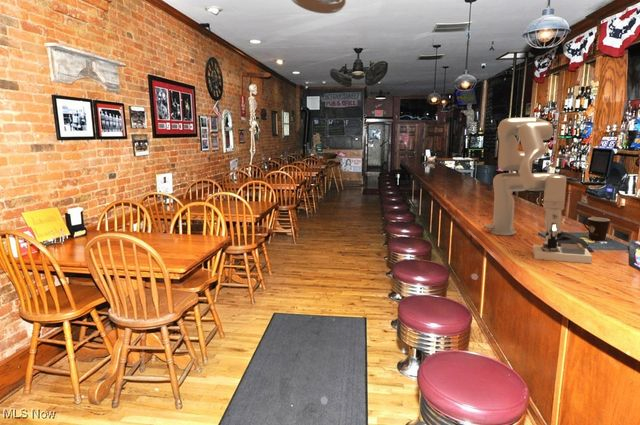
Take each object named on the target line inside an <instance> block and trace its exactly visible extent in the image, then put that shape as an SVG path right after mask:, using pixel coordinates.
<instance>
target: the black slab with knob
mask: <svg viewBox="0 0 640 425" xmlns="http://www.w3.org/2000/svg"><path fill="white" fill-rule="evenodd" d="M557 243H558V247H561V243H562V244H577V243H579V244H581V245H582V246H583V247H584V249H587V250H588V251H589V253H595V251H594V249H592V247H591V246H590V245H589V244H588V243H587V241H586V240H585V239H583V238H581V237H579V236H576V235H574V234H571V233H569V232H565V231H562V230H561V233H558V232H557ZM588 246H590V247H588Z"/></svg>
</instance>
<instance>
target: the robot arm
mask: <svg viewBox="0 0 640 425" xmlns="http://www.w3.org/2000/svg"><path fill="white" fill-rule="evenodd" d="M553 135H554V127H553V124H551V122H549V121H547V120H545V119H542V118H539V117H535V116H528V117H525V116H523V117H522V116H521V117H508V118H507V117H506V118H505V119H502V120H501V121H500V122H499V124H498V127H497V136H498V141H499V146H498V156H497V157H498V158H497V166H498V169H499V170H501V171H506V173H505V172H503V173H498V174H497V175H494V177H493V180H492V183H493V184H492V185H493V193H494V196H493V198H494V200H493V218H492V219H493V220H492V221H493V222H492V223H491V224H485V223H484V224H483V228H484V229H486V230H489V233H490V234H493V235H494V236H495V235H497V236H505V237H507V236H514V235H516V233H517V231H516V230H514V217H515V216H514V215H515V198H514V196H513V195H512V193H511V192H523V191H529V192H530V191H532V192H533V191H534V192H536V191H537V192H538V191H543V204H542V205H543V206H542V208H543V209H545V218H544V219H545V222H544V223H545V224H544V226H545V238H544V239H545V240H546V235H549V238H548V245H547V247H548V248H556V247H557V234H558V233H561V231H562V211H563V210H564V209H565V204H566V203H565V202H566V201H565V200H566V192H567V191H566V190H567V189H566V188H567V177H566V175H563V174H557V173H554V172H533V173H532V171H533V161H536V160H537V159H539V158H541V157H543V156H544V155H545V154H546V152H547V149H546V146H545V143H544V141H548V140H550V139H551V138H552V137H553ZM516 136H518V137H519V138H518V139H519V141H520V144H521V148H522V151H521V150H520V151H519V150H518V148H519V142H518V139H517V138H516ZM507 171H508V172H507ZM509 171H510V172H509ZM511 171H513V172H511ZM514 171H517V172H514ZM545 240H544V241H545Z"/></svg>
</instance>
